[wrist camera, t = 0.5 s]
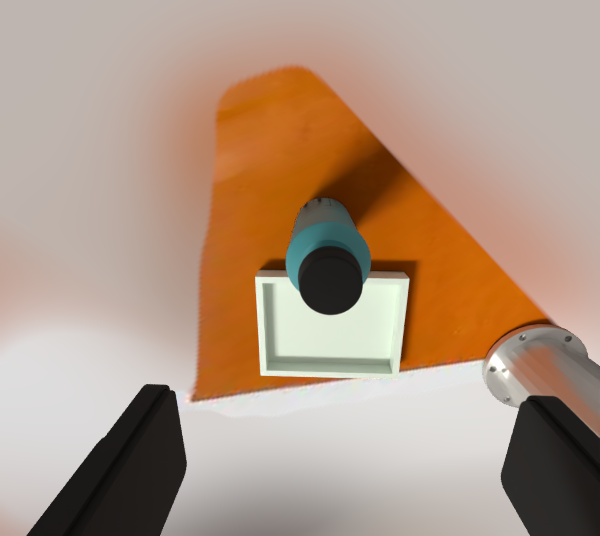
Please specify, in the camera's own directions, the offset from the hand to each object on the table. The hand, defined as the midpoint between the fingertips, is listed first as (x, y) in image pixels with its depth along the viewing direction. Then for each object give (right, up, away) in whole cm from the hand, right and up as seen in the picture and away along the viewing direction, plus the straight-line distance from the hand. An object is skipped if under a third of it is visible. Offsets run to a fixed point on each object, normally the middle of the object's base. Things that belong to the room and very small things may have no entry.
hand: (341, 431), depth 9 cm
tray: (+3, -2, +33) cm, 33 cm away
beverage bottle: (+2, +10, +29) cm, 31 cm away
